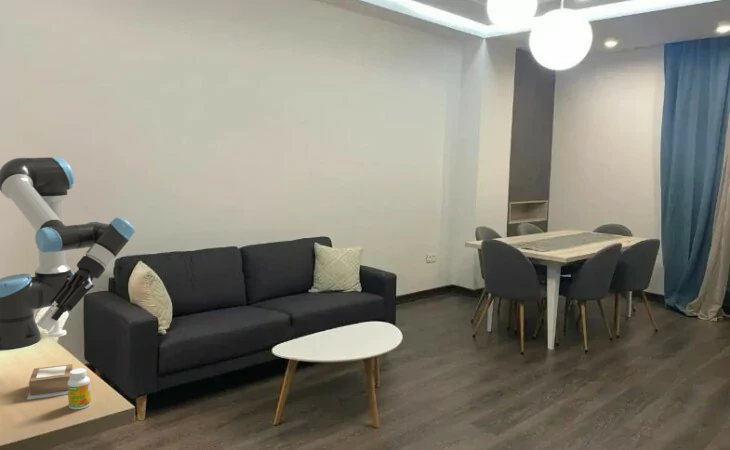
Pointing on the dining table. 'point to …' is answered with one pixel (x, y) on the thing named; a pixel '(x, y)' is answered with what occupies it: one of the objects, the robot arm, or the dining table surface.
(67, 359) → the dining table surface
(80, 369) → the supplement bottle
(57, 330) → the chess piece
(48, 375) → the walnut plinth
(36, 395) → the pale blue board
